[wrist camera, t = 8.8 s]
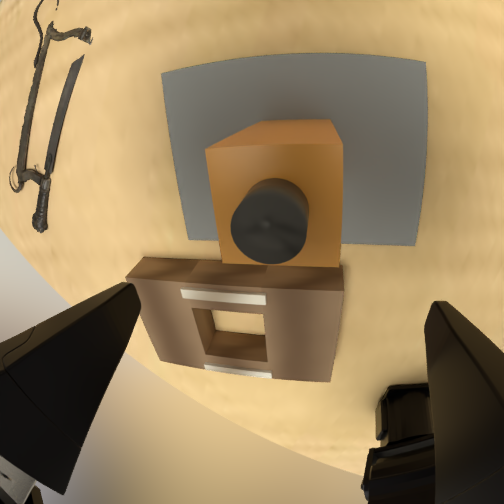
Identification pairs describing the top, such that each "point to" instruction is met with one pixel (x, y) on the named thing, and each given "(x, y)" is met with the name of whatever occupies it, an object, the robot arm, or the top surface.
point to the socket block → (246, 301)
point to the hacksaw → (44, 180)
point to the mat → (311, 107)
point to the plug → (279, 193)
